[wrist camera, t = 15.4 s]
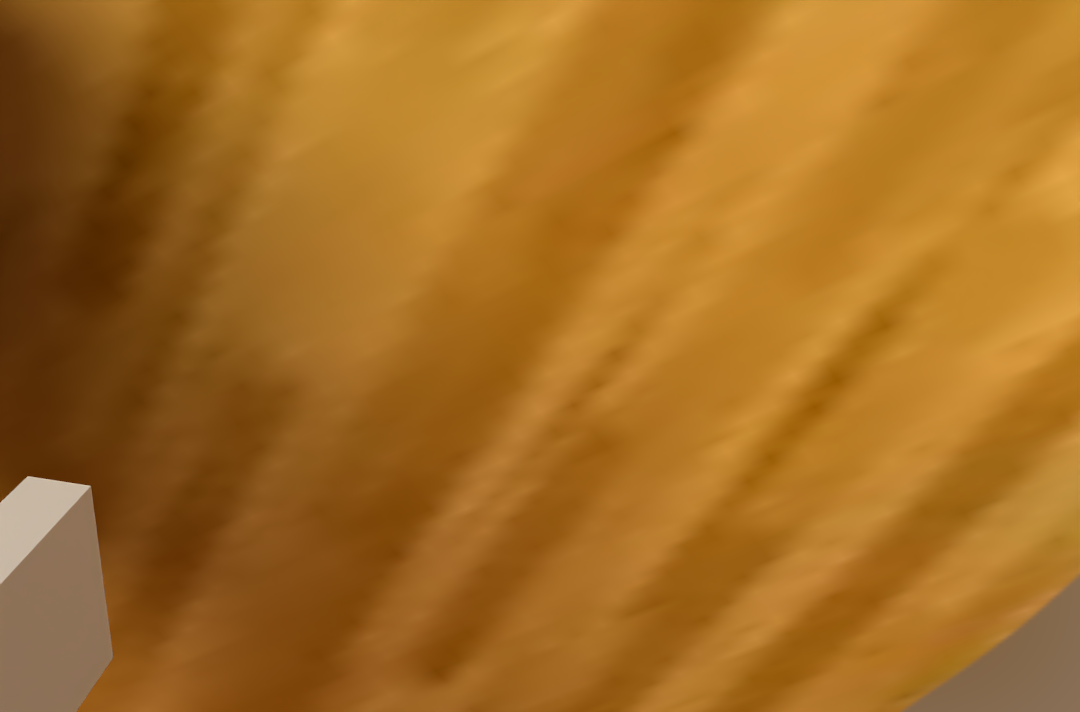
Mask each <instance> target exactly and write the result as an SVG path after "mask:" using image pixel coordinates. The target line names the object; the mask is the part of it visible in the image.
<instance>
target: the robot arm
mask: <svg viewBox="0 0 1080 712" xmlns="http://www.w3.org/2000/svg"><path fill="white" fill-rule="evenodd" d="M112 659H113V651H112V643H111V636H110V628H109V620H108V613H107V605H106V597H105V590H104V582H103V574H102V566H101V559H100V551H99V543H98V536H97V528H96V520H95V513H94V505H93V497H92V489H91V486H89V485H82V484H76V483H69V482H63V481H56V480H50V479H43V478H37V477H30V476H27V477H26V478H25V479H24V480H23V481H22V482H21V483H20V484H19V485H18V486H17V487H16V488H15V489H14V490H13V491H12V492H11V493H10V494H9V495H8V496H7V497H6V498H5V499H3V500H2V501H1V502H0V712H76V711H77V710H78V708H79V707H80V705H81V704H82V702H83V701H84V700H85V698H86V697H87V695H88V694H89V692H90V691H91V689H92V688H93V686H94V685H95V683H96V682H97V681H98V679H99V678H100V676H101V675H102V673H103V672H104V670H105V669H106V667H107V666H108V664H109V663H110V662H111V660H112Z"/></svg>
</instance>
